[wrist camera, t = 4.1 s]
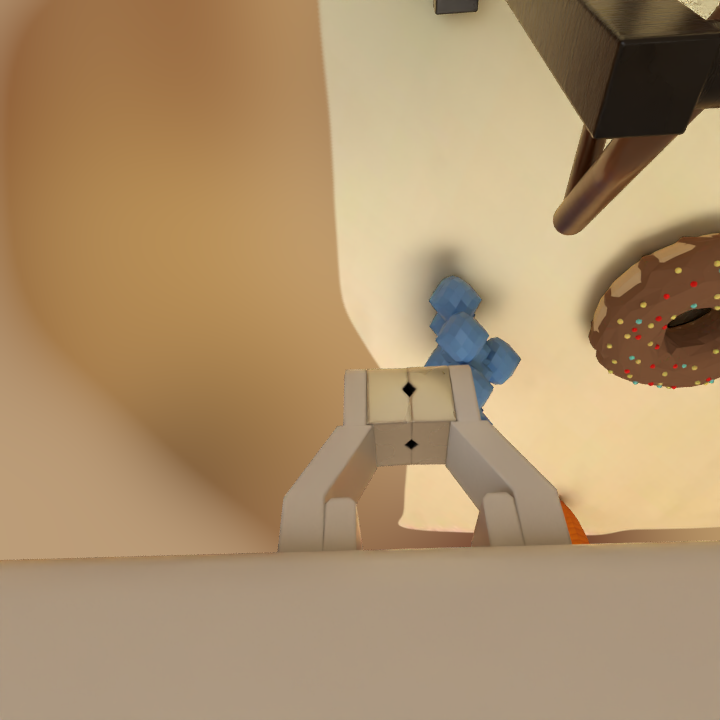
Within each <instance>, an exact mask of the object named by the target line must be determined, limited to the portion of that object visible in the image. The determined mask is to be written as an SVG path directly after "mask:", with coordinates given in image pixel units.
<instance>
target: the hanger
mask: <svg viewBox="0 0 720 720" xmlns="http://www.w3.org/2000/svg"><path fill="white" fill-rule="evenodd" d="M712 19H720V3H719V6H718V7H717V8H716V9H715V11H714V12H713V13H712V14H711V16H710V17H709V18H708V19H707V20H712ZM703 110H704V109H694V111H693V113H692V116H691V118H690V121H689V123H690V122H691V121H692V120H693V119H694V118H695V117H696V116H697V115H698V114H699V113H701V112H702V111H703ZM689 123H688V124H689ZM676 136H677V135H664V136H647V137H630V138H613V139H612V140H611V142H610V143H609V144H608V145H607V147H606V148H605V149H604V146H605V143H606V139H594V138H593V137H592V136H591V134H590V133H589V131H588V130H587V128H586V126H585V125H583V129H582V133H581V136H580V140H579V144H578V148H577V151H576V155H575V159H574V163H573V166H572V170H571V174H570V178H569V182H568V185H567V189H566V193H565V197H564V200H563V202H562V203H561V205H560V206H559V207H558V209H557V210H556V211H555V214H554V216H553V224H554V227H555V228H556V230H557V231H558V232H560V233H561V234H564V235H574V234H577V233H578V232H580V231H581V230H583V229H584V228H585V227H586V226H587V225H588V224H589V223H590V222H591V221H592V220H593V219H594V218H595V217H596V216H597V215H598V214H599V213H600V212H601V211H602V210H603V209H604V208H605V207H606V206H607V205H608V204H609V203H610V202H611V201H612V200H613V199H614V198H615V197H616V196H617V195H618V194H619V193H620V192H621V191H622V190H623V189H624V188H625V187H626V186H627V185H628V184H629V183H630V182H631V181H632V180H633V179H634V178H635V177H636V176H637V175H638V174H639V173H640V172H641V171H642V170H643V169H644V168H645V167H646V166H647V165H648V164H649V163H650V162H651V161H652V160H653V159H654V158H655V157H656V156H657V155H658V154H659V153H660V152H661V151H662V150H663V149H664V148H665V147H666V146H667V145H668V144H669V143H670V142H671V141H672V140H673V139H674V138H675V137H676ZM603 149H604V151H603Z"/></svg>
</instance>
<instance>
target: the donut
mask: <svg viewBox="0 0 720 720" xmlns="http://www.w3.org/2000/svg"><path fill="white" fill-rule="evenodd" d="M701 308H712V310H711V311H709V312H708V313H707V314H705V315H704V316H702V317H700V318H698V319H696V320H694V321H693V322H690V323H687V324H684V325H680V326H677V327H672V328H667V325H668V323H669V322H671V321H672V320H673V319H675V318H676V317H677V316H678V315H680V314H682V313H684V312H686V311H689V310H692V309H701ZM589 340H590V343H591V345H592V346H593V348H594V349H596V357H597V359H598V361H599V363H600V364H601V365H603V366H604V367H605V368H606V369H607V370H608V372H609V373H610V374H612V373H613V374H614V375H616V376H619V377H621V378H624V379H626V380H629V381H632V382H633V383H634V384H638V383H641V384H649V385H650V386H652V385H657V387H658V388H661V387H662V386H666V387H667V388H668V389H670V388H672V389H675V388H680V387H692V386H697V385H702V384H704V385H707V384H708V382H709V383H713V382H714V380H715V379H717V378H719V377H720V233H712V234H708V235H703V236H699V237H682V238H681V239H679V240H678V241H677V242H676V243H675V244H673V245H670V246H668V247H665V248H663V249H660V250H658V251H656V252H654V253H652V254H651V255H646V256H642V258H641V259H640V261H639V262H637V263H636V264H634V265H633V266H631V267H630V268H629V269H628V270H627V271H626V272H624V273H623V274H622V275H621V276H620V277H619V278H618V279H616V280H615V281H614V282H613V283H612V285H611V286H610V287H609V289H608V290H607V291H606V292H605V294H604V295H603V296H602V298H601V299H600V301H599V304H598V306H597V309H596V311H595V314H594V320H593V321H592V322H591V331H590V334H589Z"/></svg>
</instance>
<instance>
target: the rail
mask: <svg viewBox="0 0 720 720" xmlns="http://www.w3.org/2000/svg"><path fill="white" fill-rule="evenodd" d="M478 1H479V0H434V1H433V7H434V10H435V13H436V14H437V15H439V14H453V13H467V12H476V11H477V10H478ZM506 2H507V3H508V5H509V7H510V8H511V10H512V11H513V13H514V15H515V16H516V18H517V19H518V21H519V22H520V24H521V26H522V27H523V29H524V30H525V32H526V33H527V35H528V37H529V38H530V40H531V41H532V43H533V44H534V46H535V48H536V49H537V51H538V52H539V54H540V56H541V57H542V59H543V60H544V62H545V63H546V65H547V67H548V68H549V70H550V71H551V73H552V74H553V76H554V78H555V79H556V81H557V82H558V84H559V85H560V87H561V89H562V90H563V92H564V93H565V95H566V96H567V98H568V100H569V101H570V103H571V104H572V106H573V108H574V109H575V111H576V112H577V114H578V115H579V117H580V119H581V120H582V122H583V123H584V125H585V126H586V128H587V130H588V131H589V133H590V134H591V136H592V137H593V138H594V139H613V138H630V137H647V136H664V135H680V134H683V133H684V132H685V130H686V128H687V125H688V123H689V121H690V118H691V116H692V113H693V111H694V109H708V108H720V19H712V20H705V19H703V18H702V17H701V16H699V15H698V14H696V13H695V12H694V11H692V10H691V9H689V8H688V7H687V6H685V5H684V4H682V3H681V2H680V1H678V0H506Z"/></svg>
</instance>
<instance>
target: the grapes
mask: <svg viewBox="0 0 720 720" xmlns="http://www.w3.org/2000/svg"><path fill="white" fill-rule="evenodd" d="M481 300H482V299H481V298H480V297H479V295H478V294H477V293H476V292H475V291H474V289H473V288H472V287H471V286H470V285H469V284H468V283H467V282H465V281H464V280H462V279H460V278H459V277H455V276H450V277H447V278H445V279H443V280H442V281H441V282H440V284H439V285H438V286H437V288H436V289H435V291H434V292H433V294H432V296H431V298H430V300H429V302H430V303H431V305H432V306H433V307H434V309H435V310H436V311H437V314H436V316H435V317H434V319H433V321H432V323H431V324H430V328H431V329H432V330H433V331H434V333H435V334H436V335H437V338H436V342H437V343H438V346H437V348H436V349H435V350H434V351H433V353H432V354H431V356H430V357H429V359H428V361H427V363H426V365H425V366H424V367H427V366H445V365H447V367H448V366H453V365H469V366H470V368H471V371H472V376H473V381H474V386H475V392H476V397H477V402H478V407H479V412H480V417H481V420H488V421H489V419H488V418H487V417H486V416H485V414H484V413H483V409H482V407H483V406H484V404H485V402H486V400H487V399H488V398H489V396H490V394H491V392H492V391H493V388H494V387H493V386H492V385H491V384H490V382H491V383H493V384H495V385H497V384H503V383H504V382H505V381H506V380H507V379H508V378H509V377H511V376H512V374H513V372H514V371H515V369H516V367H517V365H518V364H519V362H520V360H521V359H520V357H519V356H518V355H517V353H516V352H515V351H514V350H513V349H512V347H511V346H510V345H509V344H507V343H506V342H504V341H503V340H501V339H500V338H498V337H496V338H491V339H489V340H488V341H486V340H487V338H488V337H489V335H488V333H487V332H486V330H485V329H484V328H483V327H482V326H481V325H480V324H479V323H478V321H477V320H476V319H474V316H475V314H474V312H475V311H476V309H477V307H478V305H479V304H480V302H481ZM489 422H490V421H489ZM490 423H491V422H490ZM491 424H492V423H491ZM492 425H493V424H492Z"/></svg>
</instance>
